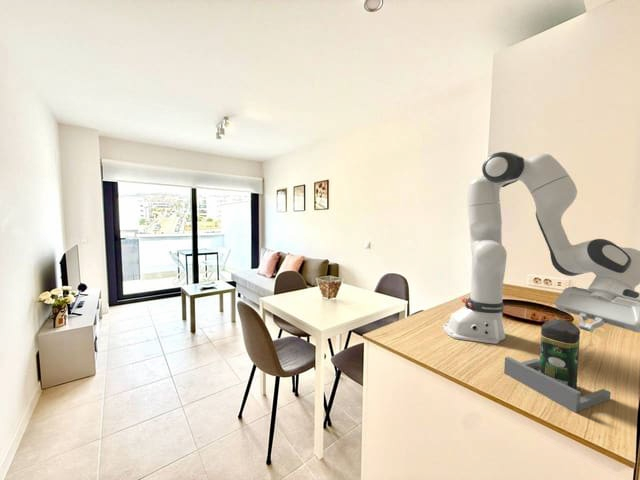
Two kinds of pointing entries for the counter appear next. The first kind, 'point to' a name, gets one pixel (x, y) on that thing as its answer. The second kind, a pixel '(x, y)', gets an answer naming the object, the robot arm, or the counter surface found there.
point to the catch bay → (552, 386)
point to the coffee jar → (560, 351)
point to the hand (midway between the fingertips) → (584, 329)
